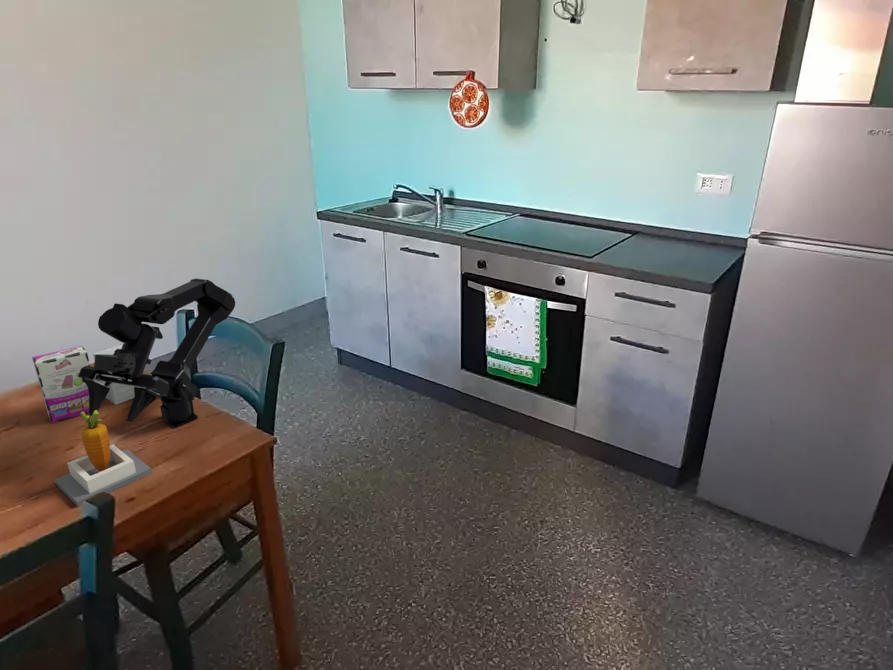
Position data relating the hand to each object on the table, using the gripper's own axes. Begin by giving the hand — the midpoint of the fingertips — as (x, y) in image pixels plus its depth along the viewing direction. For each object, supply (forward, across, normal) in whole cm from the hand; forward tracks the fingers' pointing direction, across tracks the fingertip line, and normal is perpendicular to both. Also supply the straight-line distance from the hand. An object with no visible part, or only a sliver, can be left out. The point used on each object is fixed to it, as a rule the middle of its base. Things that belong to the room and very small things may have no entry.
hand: (109, 418), depth 133 cm
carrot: (+11, 0, +5) cm, 12 cm away
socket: (+12, 0, +5) cm, 13 cm away
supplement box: (-10, -21, +28) cm, 37 cm away
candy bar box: (-3, -27, +20) cm, 34 cm away
